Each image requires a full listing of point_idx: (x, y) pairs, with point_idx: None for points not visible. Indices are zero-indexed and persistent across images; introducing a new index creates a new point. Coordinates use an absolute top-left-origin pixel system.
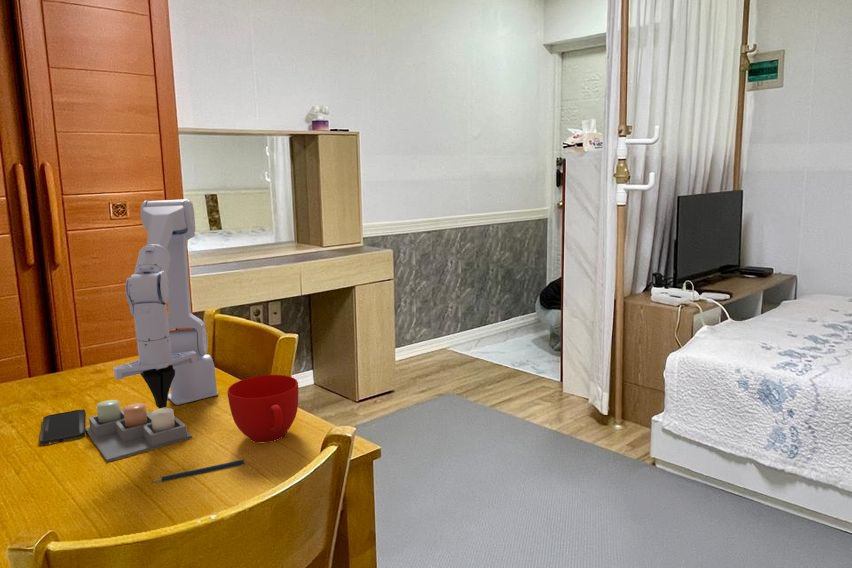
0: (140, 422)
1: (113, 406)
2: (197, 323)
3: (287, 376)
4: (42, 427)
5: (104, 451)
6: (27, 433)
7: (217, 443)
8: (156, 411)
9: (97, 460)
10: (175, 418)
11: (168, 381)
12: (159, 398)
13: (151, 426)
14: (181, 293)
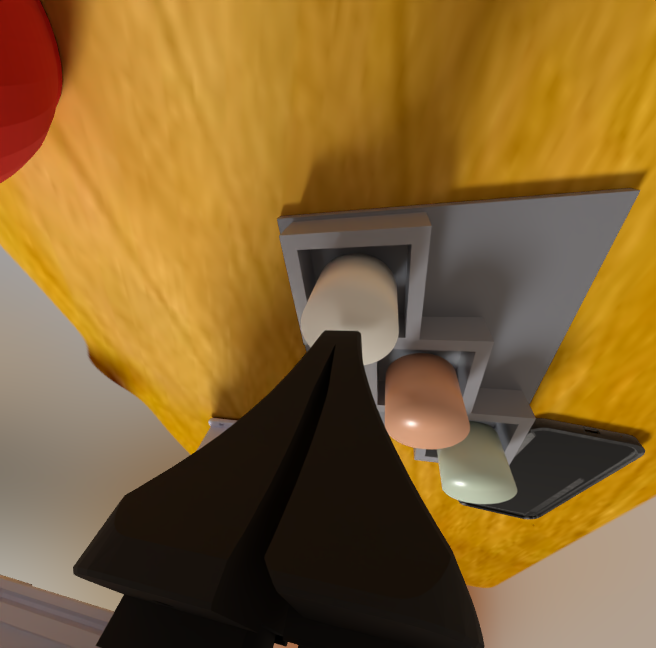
0: (417, 361)
1: (472, 468)
2: None
3: None
4: (575, 494)
5: (581, 282)
6: (602, 493)
7: (188, 81)
8: (366, 352)
9: (637, 237)
10: None
11: (231, 453)
12: (349, 364)
13: None
14: None
